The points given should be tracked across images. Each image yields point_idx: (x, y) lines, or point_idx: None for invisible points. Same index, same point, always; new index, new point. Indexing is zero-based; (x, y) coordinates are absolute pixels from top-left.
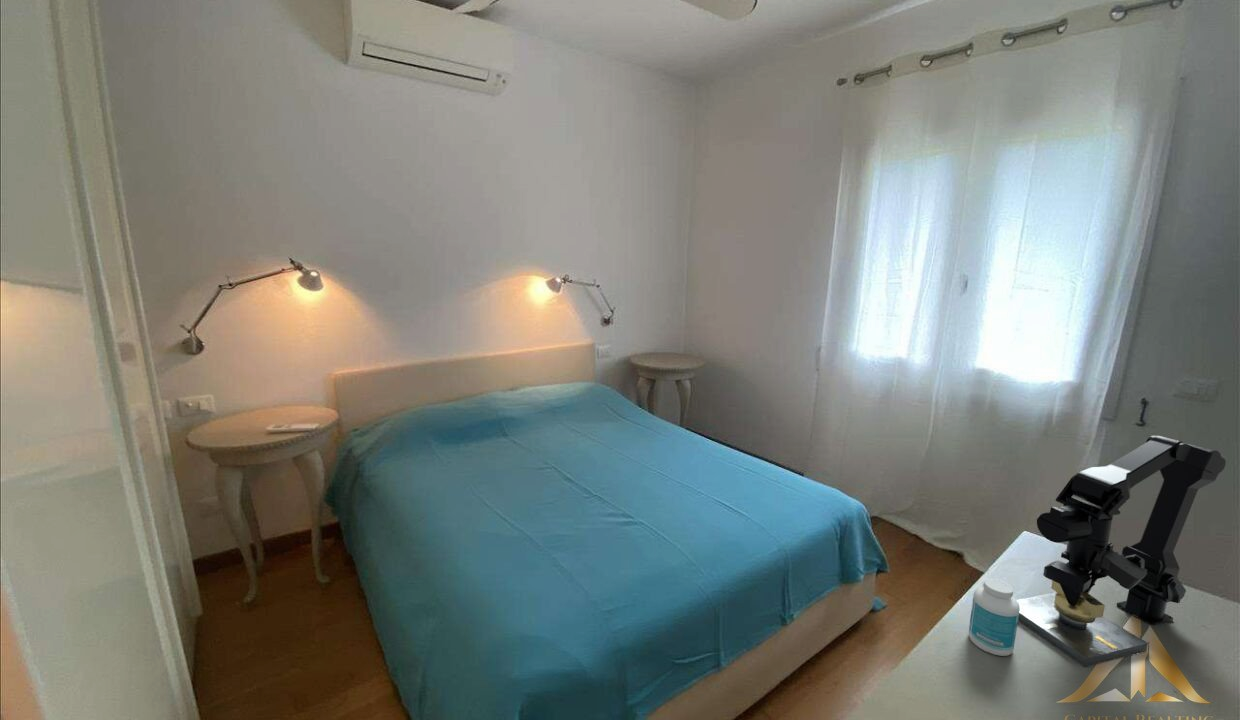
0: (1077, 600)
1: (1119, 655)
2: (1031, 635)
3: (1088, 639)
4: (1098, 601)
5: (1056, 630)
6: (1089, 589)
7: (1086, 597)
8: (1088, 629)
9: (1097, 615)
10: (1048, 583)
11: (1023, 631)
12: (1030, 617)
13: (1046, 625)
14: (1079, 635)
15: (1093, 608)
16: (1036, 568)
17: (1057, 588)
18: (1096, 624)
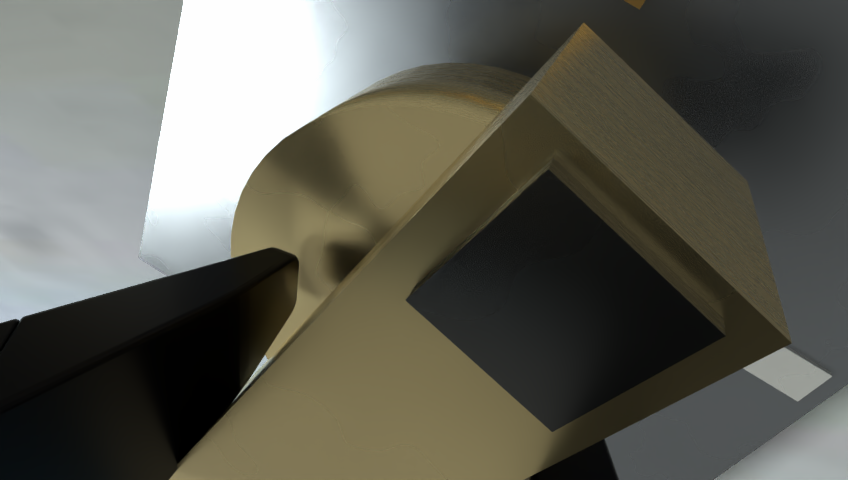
0: (608, 459)
1: None
2: (845, 389)
3: (745, 57)
4: (490, 237)
5: (782, 303)
6: (149, 337)
7: (469, 397)
8: (523, 71)
9: (664, 109)
10: (85, 270)
11: (821, 428)
12: (700, 450)
13: (754, 368)
14: (719, 133)
15: (743, 261)
16: (14, 313)
17: None
18: (368, 19)
